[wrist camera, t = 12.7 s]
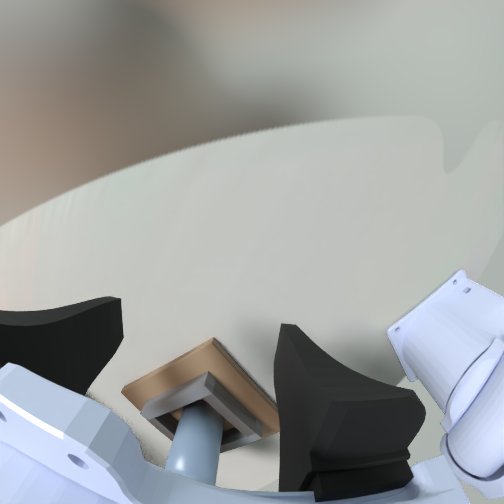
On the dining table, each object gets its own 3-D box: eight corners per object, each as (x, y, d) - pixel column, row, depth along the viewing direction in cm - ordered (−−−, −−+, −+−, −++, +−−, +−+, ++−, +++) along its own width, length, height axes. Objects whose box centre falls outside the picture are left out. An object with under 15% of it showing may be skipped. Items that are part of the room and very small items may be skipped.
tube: (205, 394, 22) (188, 464, 14) (233, 419, 23) (226, 487, 15) (174, 408, 22) (152, 472, 15) (202, 431, 23) (188, 494, 15)
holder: (213, 337, 22) (207, 357, 19) (290, 419, 24) (292, 440, 21) (124, 386, 23) (112, 404, 20) (199, 452, 25) (195, 471, 22)
